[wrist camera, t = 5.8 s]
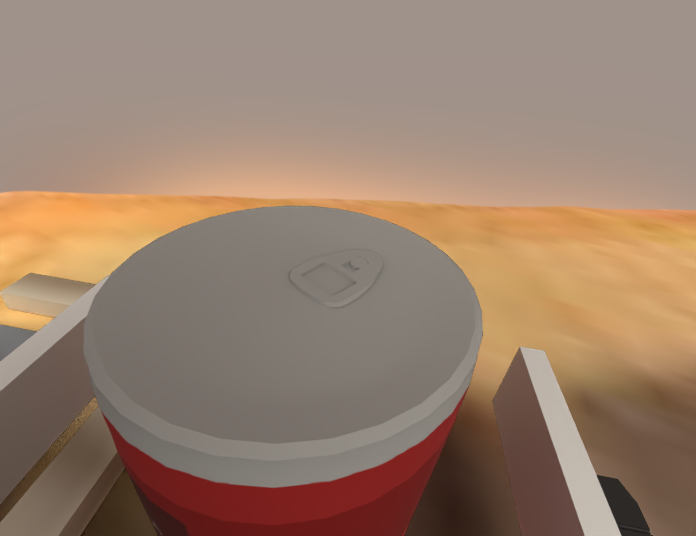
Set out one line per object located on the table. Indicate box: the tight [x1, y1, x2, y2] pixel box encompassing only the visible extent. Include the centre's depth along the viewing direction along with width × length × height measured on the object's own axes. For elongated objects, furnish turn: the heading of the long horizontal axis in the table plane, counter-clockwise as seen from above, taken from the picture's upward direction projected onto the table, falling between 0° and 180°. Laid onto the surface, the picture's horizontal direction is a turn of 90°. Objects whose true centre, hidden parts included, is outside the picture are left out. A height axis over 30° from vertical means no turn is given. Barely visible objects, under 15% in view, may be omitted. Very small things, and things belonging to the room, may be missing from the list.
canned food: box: [83, 206, 483, 536], centre depth 11 cm, size 8×8×11 cm
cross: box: [0, 273, 125, 536], centre depth 21 cm, size 22×22×1 cm
